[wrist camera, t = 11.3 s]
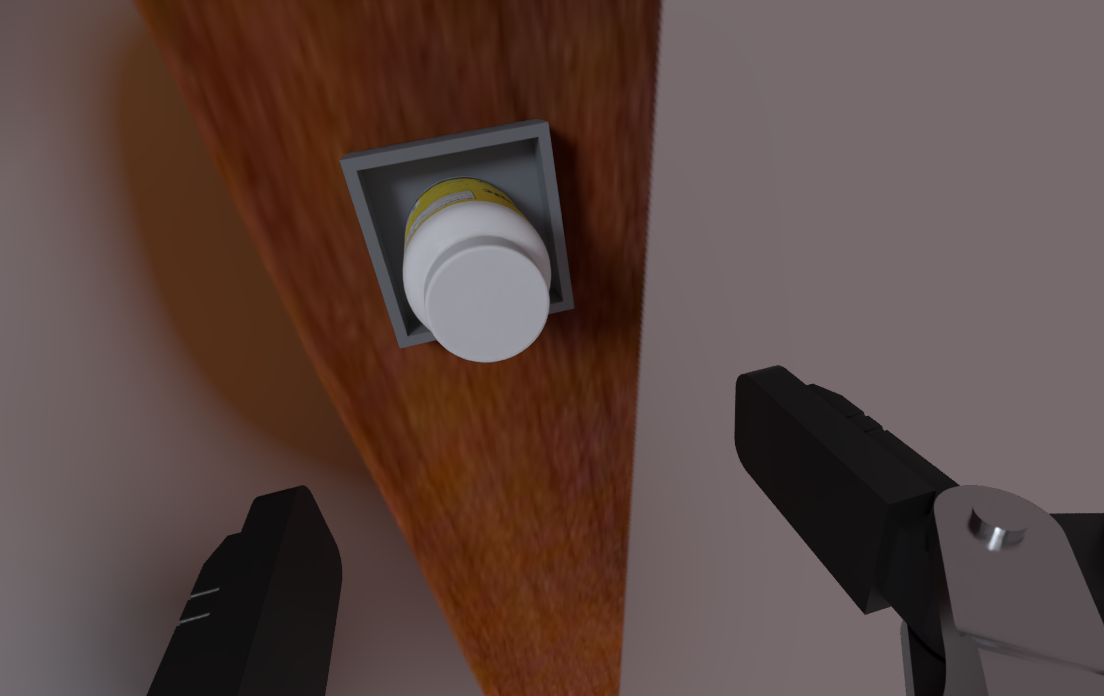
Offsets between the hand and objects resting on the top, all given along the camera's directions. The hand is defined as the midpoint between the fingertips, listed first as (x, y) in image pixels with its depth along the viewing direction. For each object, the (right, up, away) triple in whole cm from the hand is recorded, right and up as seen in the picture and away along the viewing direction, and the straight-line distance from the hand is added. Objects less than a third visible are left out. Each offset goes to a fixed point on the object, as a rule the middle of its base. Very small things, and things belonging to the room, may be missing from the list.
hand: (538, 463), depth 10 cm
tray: (-4, +8, +16) cm, 18 cm away
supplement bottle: (-4, +8, +16) cm, 18 cm away
